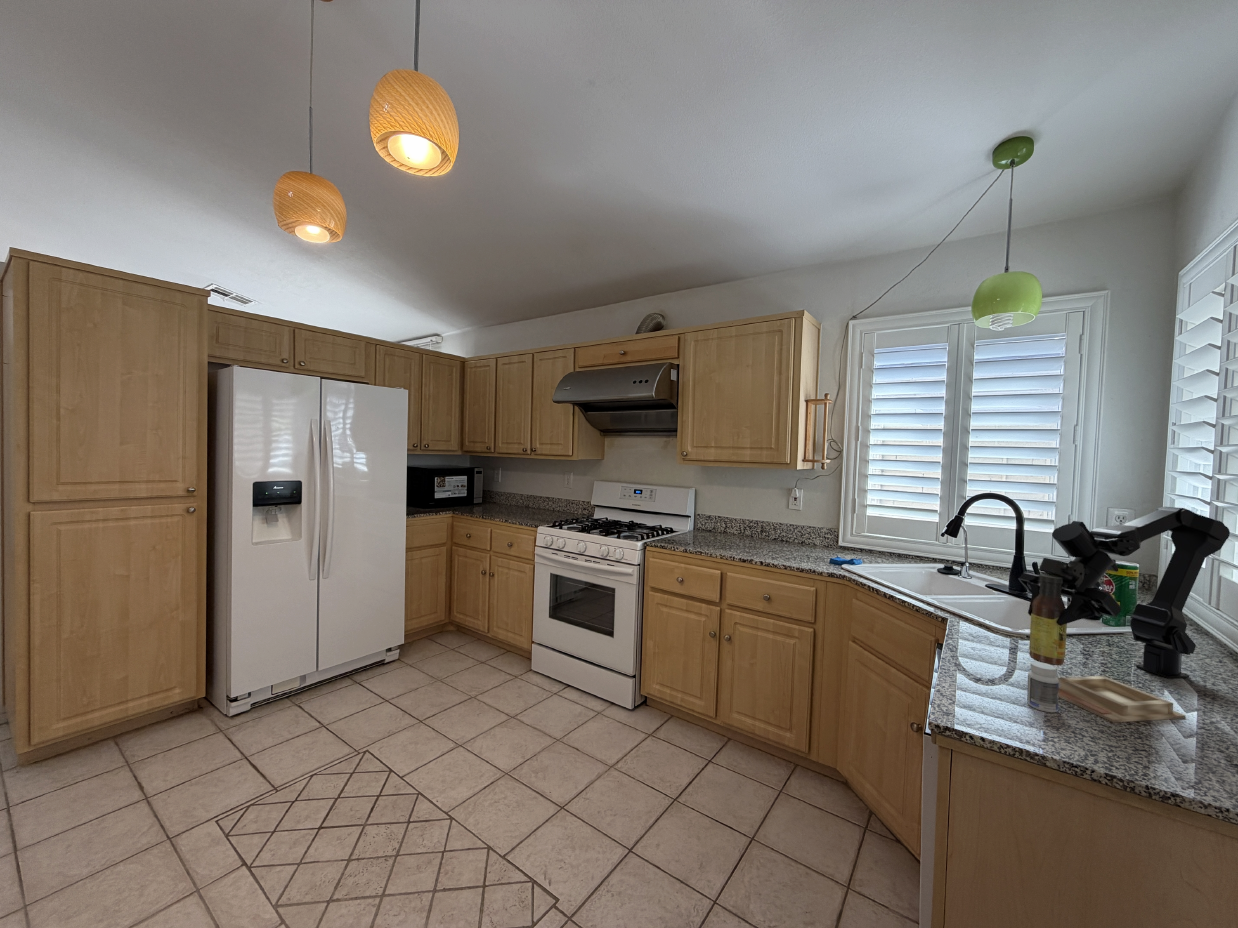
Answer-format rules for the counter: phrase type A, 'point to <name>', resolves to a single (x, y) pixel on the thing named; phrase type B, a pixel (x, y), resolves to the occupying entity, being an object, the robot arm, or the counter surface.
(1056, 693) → the pill bottle
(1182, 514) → the robot arm
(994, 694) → the counter surface
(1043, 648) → the sauce bottle
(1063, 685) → the wooden tray
